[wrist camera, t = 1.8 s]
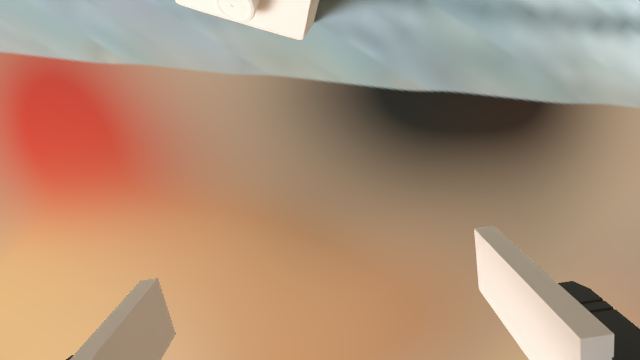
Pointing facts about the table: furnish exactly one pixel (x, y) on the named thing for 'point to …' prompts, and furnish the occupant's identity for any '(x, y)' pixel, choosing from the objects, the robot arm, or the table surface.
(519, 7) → the table surface
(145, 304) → the robot arm
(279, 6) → the milk carton
